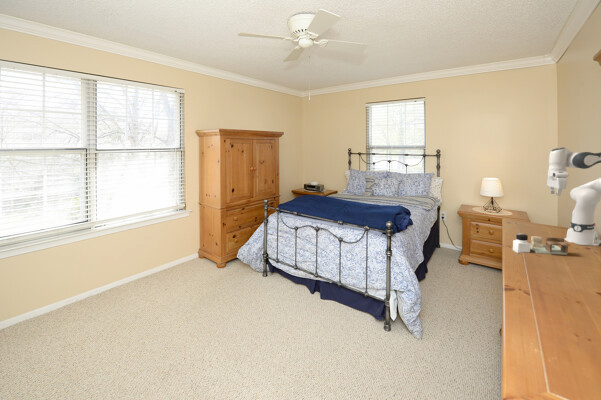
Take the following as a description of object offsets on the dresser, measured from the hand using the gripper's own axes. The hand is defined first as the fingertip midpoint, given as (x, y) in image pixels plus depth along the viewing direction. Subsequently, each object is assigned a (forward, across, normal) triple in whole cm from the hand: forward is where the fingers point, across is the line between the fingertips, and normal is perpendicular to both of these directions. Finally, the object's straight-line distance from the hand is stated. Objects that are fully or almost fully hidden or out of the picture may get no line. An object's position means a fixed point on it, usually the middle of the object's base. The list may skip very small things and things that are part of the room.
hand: (555, 194), depth 196 cm
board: (+37, +6, -4) cm, 38 cm away
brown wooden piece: (+35, +12, -1) cm, 37 cm away
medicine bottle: (+37, +9, -19) cm, 43 cm away
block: (+34, +2, -9) cm, 36 cm away
